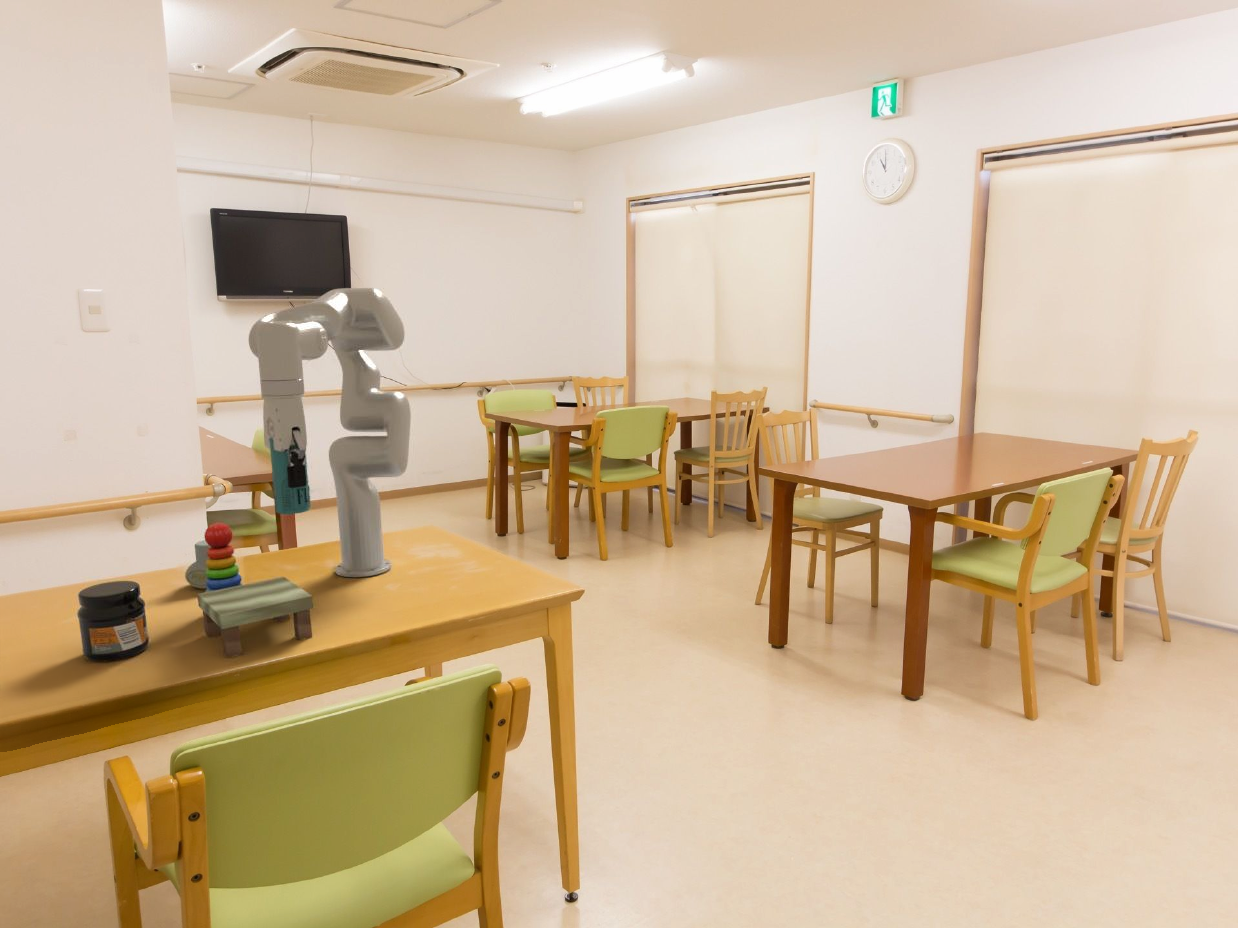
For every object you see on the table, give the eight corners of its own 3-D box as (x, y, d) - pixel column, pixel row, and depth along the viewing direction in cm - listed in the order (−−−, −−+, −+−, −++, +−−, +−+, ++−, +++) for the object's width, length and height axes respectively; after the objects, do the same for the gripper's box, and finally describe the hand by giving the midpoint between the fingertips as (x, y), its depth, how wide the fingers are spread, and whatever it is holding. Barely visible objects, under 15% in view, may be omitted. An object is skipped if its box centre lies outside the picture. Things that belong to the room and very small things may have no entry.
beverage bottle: (300, 522, 162) (291, 415, 159) (268, 521, 163) (258, 415, 160) (318, 514, 168) (310, 411, 165) (286, 513, 169) (278, 411, 166)
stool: (201, 634, 165) (197, 593, 164) (287, 614, 175) (283, 576, 174) (225, 659, 153) (220, 616, 152) (315, 636, 163) (312, 595, 161)
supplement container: (139, 660, 154) (131, 595, 151) (73, 666, 151) (64, 600, 149) (157, 638, 164) (150, 577, 162) (96, 644, 162) (87, 582, 159)
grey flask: (179, 590, 192) (174, 546, 190) (203, 578, 200) (198, 536, 198) (225, 592, 190) (220, 547, 189) (246, 580, 198) (242, 537, 197)
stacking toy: (257, 608, 179) (248, 520, 176) (228, 622, 172) (218, 530, 168) (226, 605, 182) (217, 517, 178) (196, 618, 174) (186, 527, 171)
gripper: (246, 388, 166) (254, 481, 169) (278, 393, 153) (287, 493, 156) (286, 386, 171) (293, 476, 173) (320, 390, 157) (328, 487, 160)
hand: (290, 483), depth 165 cm, fingers closed on beverage bottle, 6 cm apart
